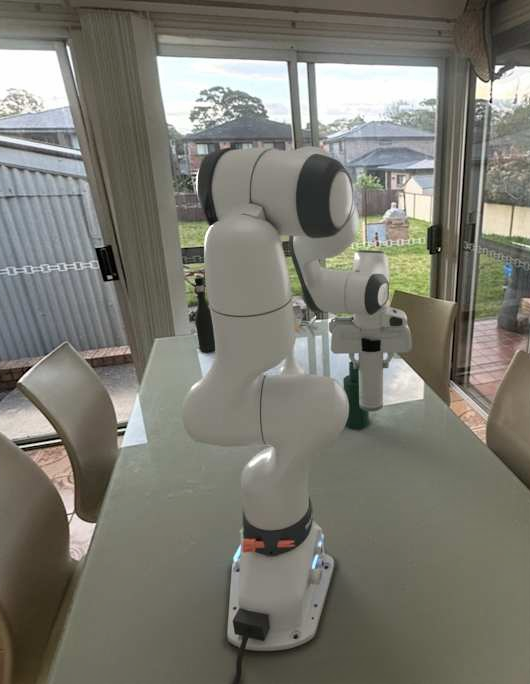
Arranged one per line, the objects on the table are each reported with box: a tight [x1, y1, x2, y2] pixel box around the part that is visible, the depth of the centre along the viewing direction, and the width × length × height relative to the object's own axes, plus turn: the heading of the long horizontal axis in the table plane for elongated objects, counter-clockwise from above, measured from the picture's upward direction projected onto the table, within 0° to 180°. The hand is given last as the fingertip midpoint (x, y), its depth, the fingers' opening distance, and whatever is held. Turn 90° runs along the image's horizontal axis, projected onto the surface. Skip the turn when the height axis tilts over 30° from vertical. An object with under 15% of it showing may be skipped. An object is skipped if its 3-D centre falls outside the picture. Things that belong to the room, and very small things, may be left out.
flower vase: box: [277, 312, 319, 375], centre depth 150 cm, size 13×18×25 cm
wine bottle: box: [194, 276, 215, 353], centre depth 177 cm, size 8×8×30 cm
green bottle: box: [342, 360, 370, 430], centre depth 125 cm, size 7×7×19 cm
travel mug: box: [358, 338, 384, 412], centre depth 113 cm, size 6×7×20 cm
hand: (371, 367), depth 112 cm, fingers closed on travel mug, 6 cm apart
